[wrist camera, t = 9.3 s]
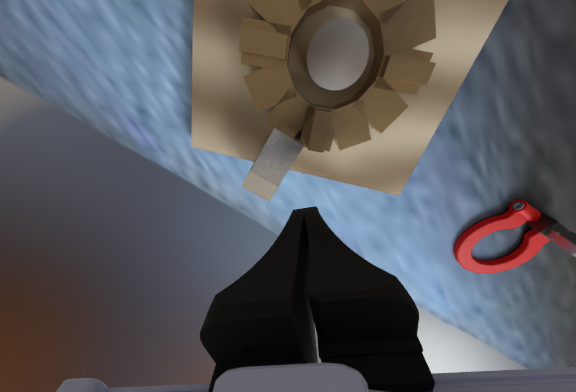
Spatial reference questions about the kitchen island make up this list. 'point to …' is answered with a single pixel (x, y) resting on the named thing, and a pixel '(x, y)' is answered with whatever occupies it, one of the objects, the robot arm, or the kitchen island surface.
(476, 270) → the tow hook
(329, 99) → the spindle board
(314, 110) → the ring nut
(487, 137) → the kitchen island surface
